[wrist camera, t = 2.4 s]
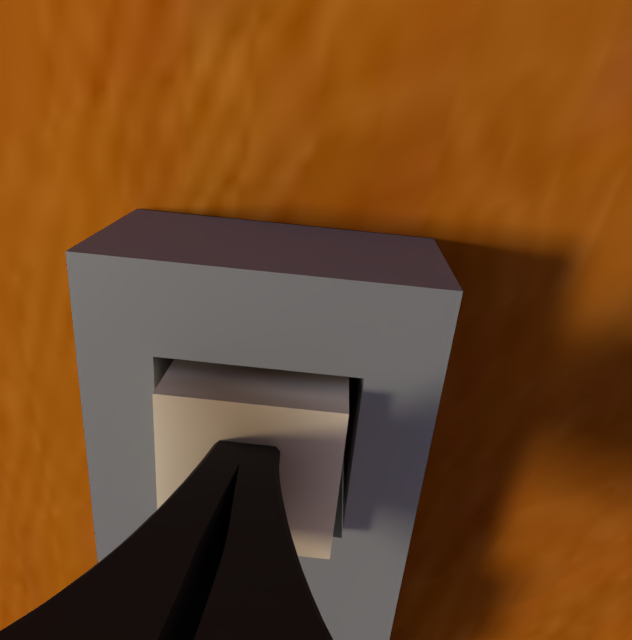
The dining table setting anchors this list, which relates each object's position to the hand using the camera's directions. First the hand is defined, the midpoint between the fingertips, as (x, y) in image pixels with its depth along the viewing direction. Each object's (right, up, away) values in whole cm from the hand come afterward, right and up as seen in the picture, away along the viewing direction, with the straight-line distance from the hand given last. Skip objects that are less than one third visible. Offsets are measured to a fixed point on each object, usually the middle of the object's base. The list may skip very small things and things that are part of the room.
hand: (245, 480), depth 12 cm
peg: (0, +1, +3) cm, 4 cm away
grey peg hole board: (0, -2, +6) cm, 7 cm away
